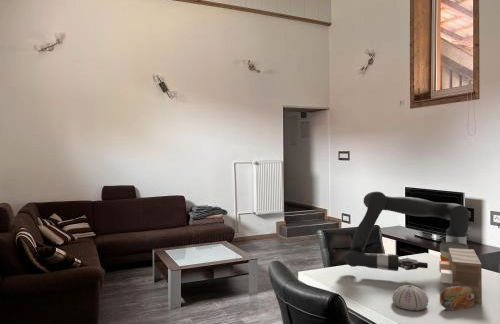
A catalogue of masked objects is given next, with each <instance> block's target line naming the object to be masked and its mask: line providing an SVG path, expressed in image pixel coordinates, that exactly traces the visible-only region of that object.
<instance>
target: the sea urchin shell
mask: <svg viewBox="0 0 500 324" xmlns="http://www.w3.org/2000/svg"><path fill="white" fill-rule="evenodd" d="M391 299H392V303H393V304H394V305H395V306H397V307H399V308H401V309H404V310H408V311H420V310H421V311H422V310H424V309H426V308H427V307H428V304H429V301H430V300H429V297H428V295H427V294H426V293H425V291H423V290H422V289H421V288H419V287H417V286H415V285H413V284H405V285H404V284H403V285H401V286H399V287H397V289H396V290H394V292H393V294H392V296H391Z"/></svg>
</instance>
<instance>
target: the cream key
mask: <svg viewBox="0 0 500 324" xmlns="http://www.w3.org/2000/svg"><path fill="white" fill-rule="evenodd" d="M440 281H441V282H440V283H444V284H449V283H452V270H441V273H440Z"/></svg>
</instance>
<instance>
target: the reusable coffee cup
mask: <svg viewBox="0 0 500 324" xmlns="http://www.w3.org/2000/svg"><path fill="white" fill-rule="evenodd" d="M449 248H458V249H469V245H468V244H467V245H466V244H463V243H458V242H446V241H443V242H440V243H439V250H440V251H439V252H440V254H439V256H440V261H447V262H449Z"/></svg>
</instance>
